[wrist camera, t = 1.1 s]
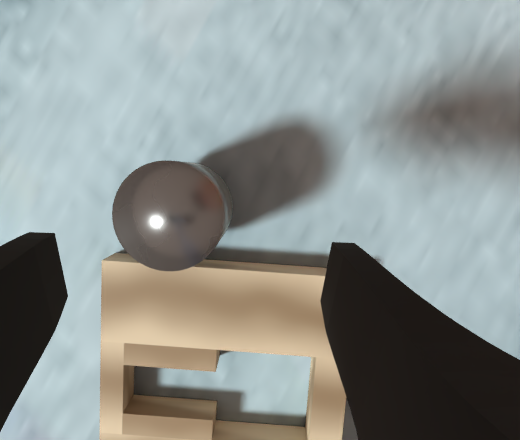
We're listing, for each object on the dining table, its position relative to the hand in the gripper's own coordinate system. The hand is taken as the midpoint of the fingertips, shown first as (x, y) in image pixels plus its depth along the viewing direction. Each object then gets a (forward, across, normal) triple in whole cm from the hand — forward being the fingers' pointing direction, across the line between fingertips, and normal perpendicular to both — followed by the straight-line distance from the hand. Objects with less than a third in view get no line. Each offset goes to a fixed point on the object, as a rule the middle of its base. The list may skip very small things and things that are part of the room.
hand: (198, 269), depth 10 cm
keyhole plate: (+9, -1, +15) cm, 18 cm away
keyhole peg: (+13, +1, +5) cm, 14 cm away
